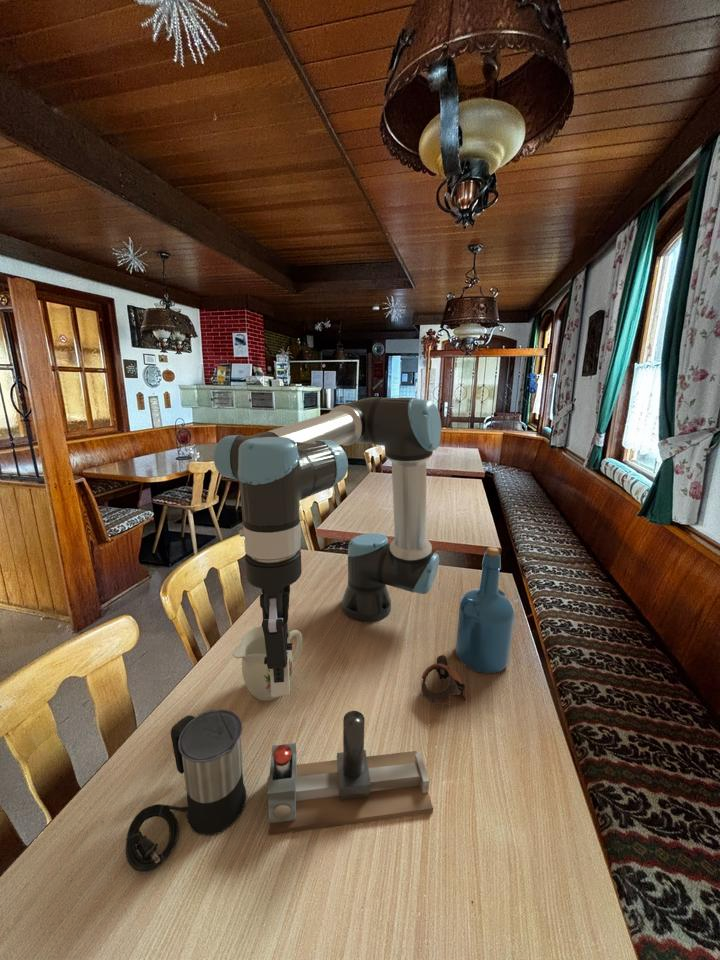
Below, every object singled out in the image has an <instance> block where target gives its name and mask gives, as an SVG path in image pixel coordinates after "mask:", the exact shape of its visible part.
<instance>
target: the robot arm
mask: <svg viewBox="0 0 720 960" xmlns="http://www.w3.org/2000/svg"><path fill="white" fill-rule="evenodd" d="M441 435H442V420H441V415H440V411H439V409H438V407H437V405H436V404H435V403H434V402H433V401H432V400H429V399H423V398H422V399H421V398H416V397H378V396H376V397H374V396H371V397H367V398H366V397H365V398H362V399H359V400H354V401H351V402H347V403H344V404H340V405H337V406H334V407H333V408H332V409H331V410H329V412H328V413H324V414H322V415H318V416H315V417H312V418H308V419H305V420H301V421H298V422H294V423H291V424H288V425H285V426H281V427H278V428H274V429H271V430H268V431H263V432H258V433H257V434H252V435H242V434H237V435H235V434H233V435H232V434H231V435H226V436H224V437H223V438H221V439H220V440H219V441H218V442H217V443H216V445H215V448H214V451H213V462H214V463H213V464H214V467H215V469H216V470H217V472H218V473H219V474H220V475H221V476H223V477H225V478H228V479H232V480H235V481H236V482H237V481H238V482H239V483H238V485H239V493H240V494H239V495H240V503H241V505H240V507H241V513H242V514H241V515H242V525H243V527H242V529H240V530H239V532H238V536H240V537H243V538H244V552H245V553H246V554H245V557H244V560H245V572H246V573H245V574H246V575H245V576H246V580H247V582H248V583H249V584H250V585H251V586H253V587H255V588H258V589H261V593H260V594H259V607H260V608H261V611H262V621H261V626H262V628H263V632H264V638H265V647H266V656H267V657H265V658H264V664H267V666H268V669H270V684H271V697H276V696H279V697H285V696H290V693H291V692H290V690H291V685H290V681H291V679H290V680H289V658H288V652H286V650H291V651H292V650H293V642H290V643H287V639H288V636H289V633H288V631H289V630H288V620H289V610H290V593H291V585H292V584H294V583H296V582H297V581H298V580H299V579H300V577H301V575H302V552H301V547H302V534H301V533H302V531H301V529H302V527H301V519H300V517H301V516H300V515H301V513H300V501H302V500H305V499H308V497H311V496H314V495H316V494H319V493H321V492H324V491H327V490H329V489H331V488H333V487H334V486H335V485H337V484H338V483H341V481H343V479H344V478H345V477H346V475H347V473H348V470H349V469H348V468H349V461H348V456H347V453H346V451H344V449H343V448H342V446H344V447H345V446H346V447H347V446H352V445H353V444H364V445H365V444H367V445H374V446H381V447H384V455H385V457H386V458H387V459H388V460H389V461H390V462H391V477H392V478H391V479H392V481H391V482H392V483H391V484H392V504H393V506H392V507H393V526H394V528H393V530H394V531H393V532H394V539H393V540H392V541H391V543H390V542H389V538H388V536H386V535H385V534H382V533H378V532H377V533H374V532H371V533H363V534H359V535H357V536H355V537H353V538H352V539H350V541H349V543H348V548H347V586H346V588H345V591H344V593H343V596H342V599H341V609H342V612H343V614H344V615H346V617H349V618H350V619H352V620H354V621H358V622H366V623H367V622H368V623H369V622H377V621H380V620H382V619H385V618H386V617H387V616H388V615H389V614H390V613H391V609H392V599H391V596H390V594H389V593H390V592H389V590H388V587H387V586H389V587H392V588H393V587H394V588H396V589H400V590H404V591H407V592H410V593H415V594H420V595H426V594H427V593H428V592H430V590H431V589H432V586H433V585H434V584H433V583H434V581H435V579H436V576H437V573H438V569H439V565H440V564H439V563H440V557H439V556H440V555H439V554H438V553H436V552H433V545H432V543H431V542H430V540H428V539H427V461H429V459H430V458H431V457H432V456H433V454H434V451H436V450H437V449H438V447H439V446H440V443H441V440H442V439H441ZM341 445H342V446H341Z"/></svg>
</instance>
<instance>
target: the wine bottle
mask: <svg viewBox="0 0 720 960" xmlns="http://www.w3.org/2000/svg"><path fill="white" fill-rule="evenodd" d="M501 557H502V556H501V554H500V550H499V548H497V547H495V546H489V547H487V550H486V551H485V552H484V555H483V558H482V563H481V567H482V569H481V574H480V581H479V582H480V583H479V588H478V587H477V588H472V589H470V590H469V591H467V592H465V593H464V594H463V595H462V596H461V597H460V601H459V608H458V609H459V611H458V619H457V630H456V631H457V632H456V633H457V634H456V643H455V654H456V656H457V657H458V659H459V660H460V662H461V663H462V665H464V666H465V667H468V669H471V670H472V671H473V672H478V673H483V674H487V675H490V674H496V673H500V672H502V671H503V670H504V669H505V668H506V667H507V666H508V665H509V664H510V657H511V651H512V644H513V643H512V642H513V635H514V628H515V620H516V613H515V607H514V604H513V603H512V601H511V600H510V599H509V598H508V597H507V596H506V594H507V593H506V592H504V591H502V590H501V589H499V586H500V570H502V563H501V562H502V561H501V560H502V558H501Z"/></svg>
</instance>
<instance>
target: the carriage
mask: <svg viewBox="0 0 720 960" xmlns="http://www.w3.org/2000/svg"><path fill="white" fill-rule="evenodd" d="M342 719H343V723H342V725H343V731H342V732H343V733H342V734H343V735H342V736H343V737H342V738H343V740H342V745H343V746H342V749H343V750H342V752H337V753H336V760H337V772H338V779H339V801H341V800H349V799H357V798H364V797H370V792H371V782H370V776H369V769H368V763H367V757H368V756H367V750H366V749H365V720H366V719H365V716H364V714H363V713H362V712H360V711H358V710H349V711H348V712H346V713H345V715H344V717H343V718H342Z"/></svg>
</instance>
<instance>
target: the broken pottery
mask: <svg viewBox="0 0 720 960" xmlns="http://www.w3.org/2000/svg"><path fill="white" fill-rule="evenodd" d="M434 670H435V671H436V673H437V675H438V678H439V679H440V680H447V679H448V678H449V680H448V683H447V685H446V687H445V688H444V689H443V690H440V691H437V692H435V691H432V690H430V689H429V688H428V687H427V684H426V681H427V678H428V675H430V673H431V672H433V671H434ZM421 679H422V680H421V681H422V682H421V694H422V696H423V698H425V700H427V701H428V702H430V703H432V704H437V705H438V704H447V705H451V701H450V695H452V696H459V695H460V694H461V691H462V692H463V698H464V699H463V700H464V702H466V701H467V700H468V697H467V696H468V695H467V689H466V685H465V682H464V679H463V678H462V676H461V675H460V674H459V672H458V671H457V670H455V668H452V667H450V665H449V664H448V658H447V657H446V656H445V655H443V654H440V655H438V656H437V658H436V663H434V664H431V665H429V666H427V667H426V669H425V670H424V672H423V673H422V676H421ZM459 688H460V689H461V690H460V689H459Z"/></svg>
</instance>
